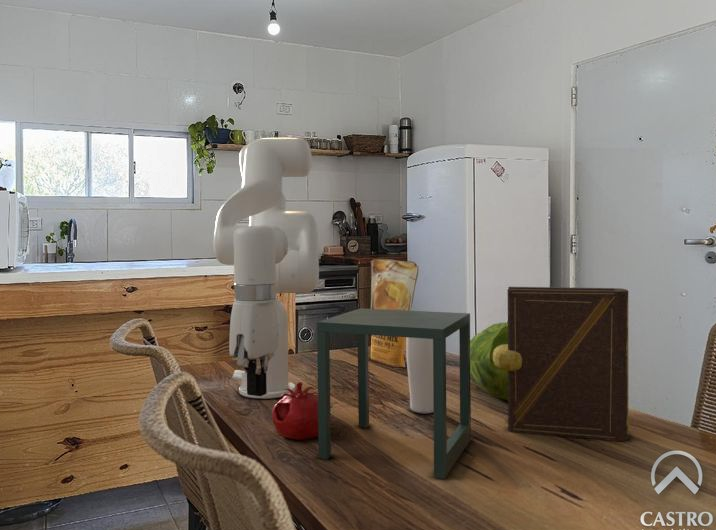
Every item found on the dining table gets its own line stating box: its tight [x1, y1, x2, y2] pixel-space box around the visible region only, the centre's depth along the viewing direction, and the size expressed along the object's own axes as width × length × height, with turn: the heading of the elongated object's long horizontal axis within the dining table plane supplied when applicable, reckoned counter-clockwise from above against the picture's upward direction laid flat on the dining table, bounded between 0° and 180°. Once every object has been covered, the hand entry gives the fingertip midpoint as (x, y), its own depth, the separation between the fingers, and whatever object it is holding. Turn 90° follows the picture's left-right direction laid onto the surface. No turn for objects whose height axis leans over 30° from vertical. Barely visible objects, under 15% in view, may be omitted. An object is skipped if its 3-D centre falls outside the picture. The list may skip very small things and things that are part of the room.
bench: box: [316, 307, 472, 480], centre depth 97 cm, size 20×18×22 cm
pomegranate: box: [271, 381, 319, 441], centre depth 105 cm, size 10×10×9 cm
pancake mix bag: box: [369, 258, 419, 368], centre depth 163 cm, size 7×19×28 cm, turn 28°
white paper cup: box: [405, 337, 434, 414], centre depth 118 cm, size 7×7×15 cm
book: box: [493, 286, 629, 442], centre depth 105 cm, size 22×8×25 cm, turn 71°
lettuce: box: [470, 321, 508, 402], centre depth 129 cm, size 17×23×16 cm
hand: (256, 394), depth 109 cm, fingers closed
